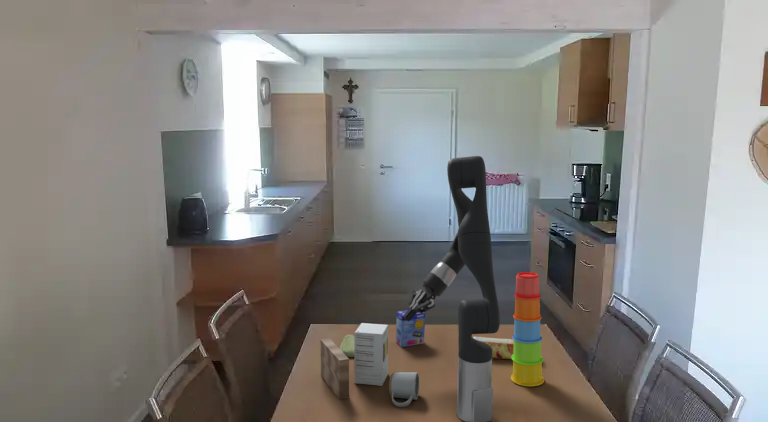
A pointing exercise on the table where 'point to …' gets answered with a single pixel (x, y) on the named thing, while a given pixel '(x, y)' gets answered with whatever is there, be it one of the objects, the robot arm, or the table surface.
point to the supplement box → (371, 354)
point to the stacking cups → (527, 332)
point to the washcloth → (348, 345)
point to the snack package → (499, 347)
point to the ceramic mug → (404, 387)
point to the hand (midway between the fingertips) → (405, 319)
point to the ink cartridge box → (410, 329)
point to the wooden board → (335, 368)
